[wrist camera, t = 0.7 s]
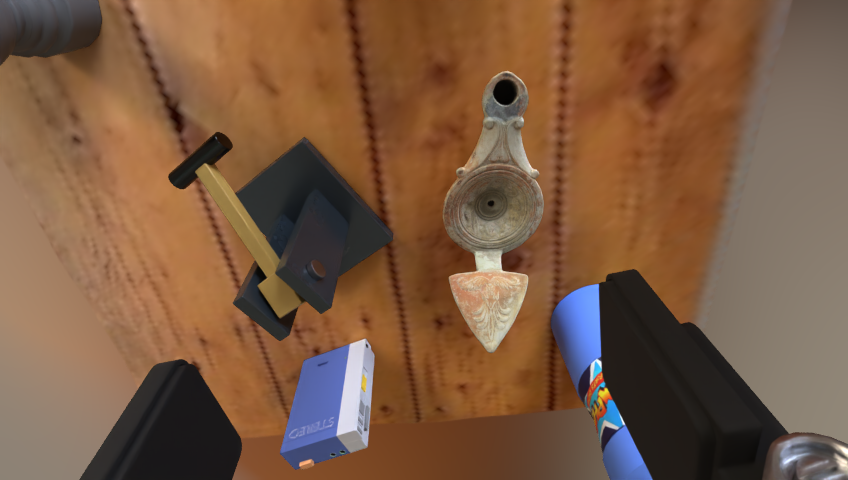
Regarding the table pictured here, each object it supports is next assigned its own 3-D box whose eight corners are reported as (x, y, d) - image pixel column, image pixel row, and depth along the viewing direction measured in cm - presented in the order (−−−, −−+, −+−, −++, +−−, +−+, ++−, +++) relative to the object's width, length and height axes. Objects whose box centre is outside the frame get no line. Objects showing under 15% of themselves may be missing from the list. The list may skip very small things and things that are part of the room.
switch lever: (183, 172, 34) (158, 173, 32) (229, 132, 33) (206, 130, 31) (282, 317, 35) (265, 328, 32) (332, 283, 33) (317, 293, 31)
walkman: (316, 375, 53) (294, 473, 43) (303, 359, 52) (278, 457, 42) (377, 354, 52) (370, 450, 42) (366, 337, 51) (356, 432, 40)
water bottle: (535, 339, 52) (627, 605, 30) (575, 273, 47) (717, 530, 26) (607, 357, 53) (743, 620, 32) (652, 295, 49) (845, 552, 27)
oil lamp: (434, 282, 47) (440, 353, 39) (448, 62, 36) (462, 91, 28) (517, 283, 48) (542, 353, 39) (556, 66, 37) (603, 96, 28)
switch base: (231, 195, 41) (165, 282, 30) (304, 136, 39) (262, 206, 27) (324, 281, 47) (297, 383, 35) (393, 233, 44) (389, 326, 33)
